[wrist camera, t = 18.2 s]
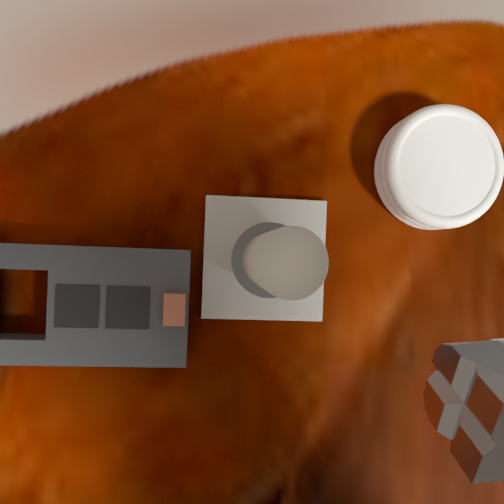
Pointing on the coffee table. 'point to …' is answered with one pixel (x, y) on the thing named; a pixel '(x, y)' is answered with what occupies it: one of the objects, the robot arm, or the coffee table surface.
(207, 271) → the mat
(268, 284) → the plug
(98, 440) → the coffee table surface
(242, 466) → the coffee table surface
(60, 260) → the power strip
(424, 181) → the coaster
